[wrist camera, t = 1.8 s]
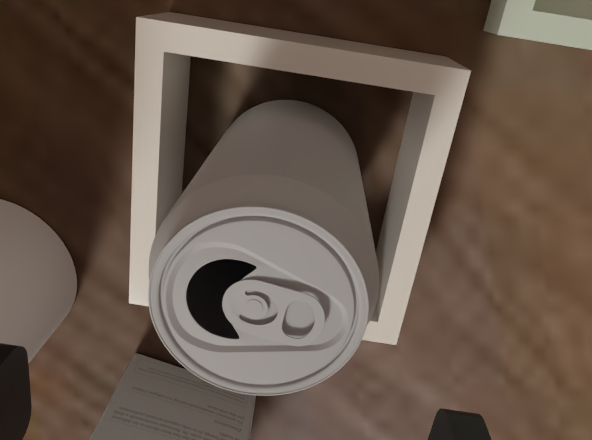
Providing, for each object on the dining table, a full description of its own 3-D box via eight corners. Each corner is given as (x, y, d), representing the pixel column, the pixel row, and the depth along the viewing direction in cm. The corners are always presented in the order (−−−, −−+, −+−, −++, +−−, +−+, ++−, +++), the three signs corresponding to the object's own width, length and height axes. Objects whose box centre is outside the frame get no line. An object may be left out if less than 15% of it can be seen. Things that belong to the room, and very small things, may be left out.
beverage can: (233, 79, 23) (146, 163, 12) (376, 116, 23) (419, 230, 12) (208, 211, 26) (117, 379, 15) (337, 243, 26) (344, 431, 15)
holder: (446, 56, 22) (471, 70, 18) (386, 293, 27) (396, 344, 23) (169, 11, 22) (136, 17, 18) (157, 257, 27) (128, 303, 23)
